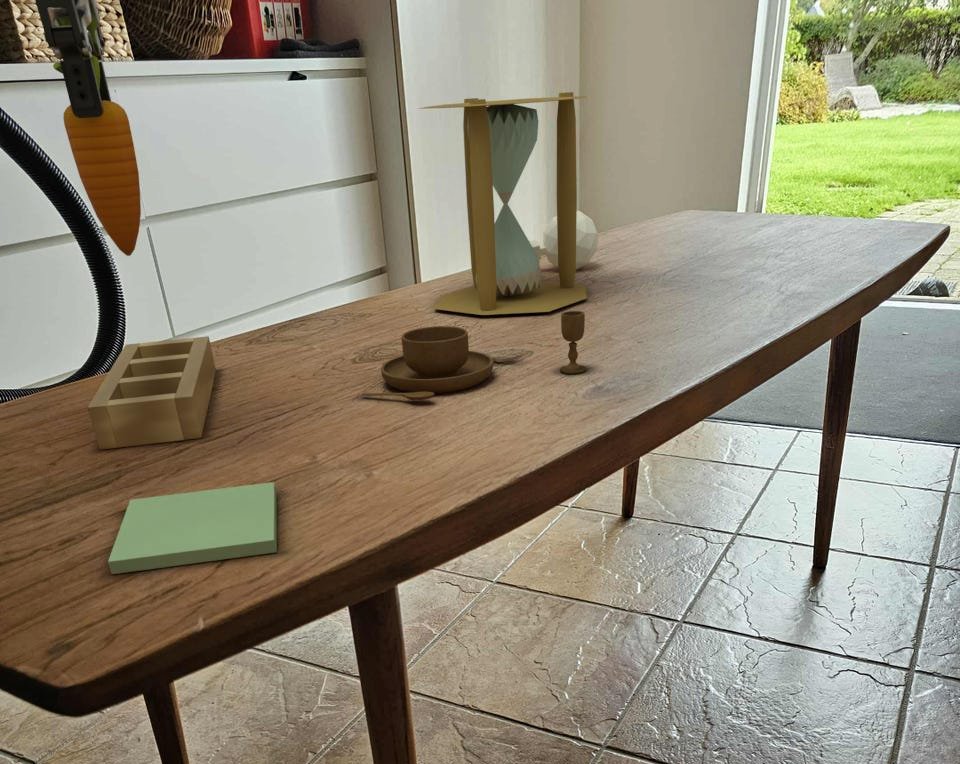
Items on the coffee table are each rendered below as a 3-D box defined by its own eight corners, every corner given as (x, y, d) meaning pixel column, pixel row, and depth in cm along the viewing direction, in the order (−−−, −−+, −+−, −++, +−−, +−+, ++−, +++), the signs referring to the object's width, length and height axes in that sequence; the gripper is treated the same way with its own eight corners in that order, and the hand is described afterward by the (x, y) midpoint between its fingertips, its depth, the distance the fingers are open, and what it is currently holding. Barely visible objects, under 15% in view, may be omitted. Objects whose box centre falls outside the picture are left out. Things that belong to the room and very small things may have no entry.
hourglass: (469, 283, 142) (459, 98, 129) (608, 284, 134) (611, 89, 121) (406, 316, 123) (385, 105, 110) (562, 321, 116) (560, 94, 103)
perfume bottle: (593, 249, 151) (523, 264, 151) (590, 194, 144) (517, 210, 144) (605, 274, 145) (533, 290, 146) (603, 219, 138) (527, 235, 139)
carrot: (154, 257, 75) (106, 42, 67) (93, 262, 74) (36, 46, 67) (162, 249, 79) (116, 46, 71) (103, 253, 79) (51, 49, 71)
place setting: (430, 355, 105) (425, 302, 102) (591, 366, 97) (592, 309, 94) (347, 398, 92) (339, 339, 89) (526, 416, 84) (525, 352, 81)
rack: (99, 450, 83) (87, 407, 80) (134, 380, 103) (125, 344, 101) (201, 438, 84) (192, 395, 82) (216, 371, 104) (208, 336, 102)
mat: (111, 574, 60) (107, 561, 60) (133, 511, 70) (129, 499, 69) (276, 552, 62) (274, 539, 61) (276, 493, 71) (274, 481, 70)
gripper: (-5, -141, 68) (62, 118, 77) (-61, -193, 56) (26, 121, 65) (98, -144, 69) (152, 112, 78) (65, -195, 57) (133, 115, 66)
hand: (94, 115), depth 71 cm, fingers closed on carrot, 5 cm apart
